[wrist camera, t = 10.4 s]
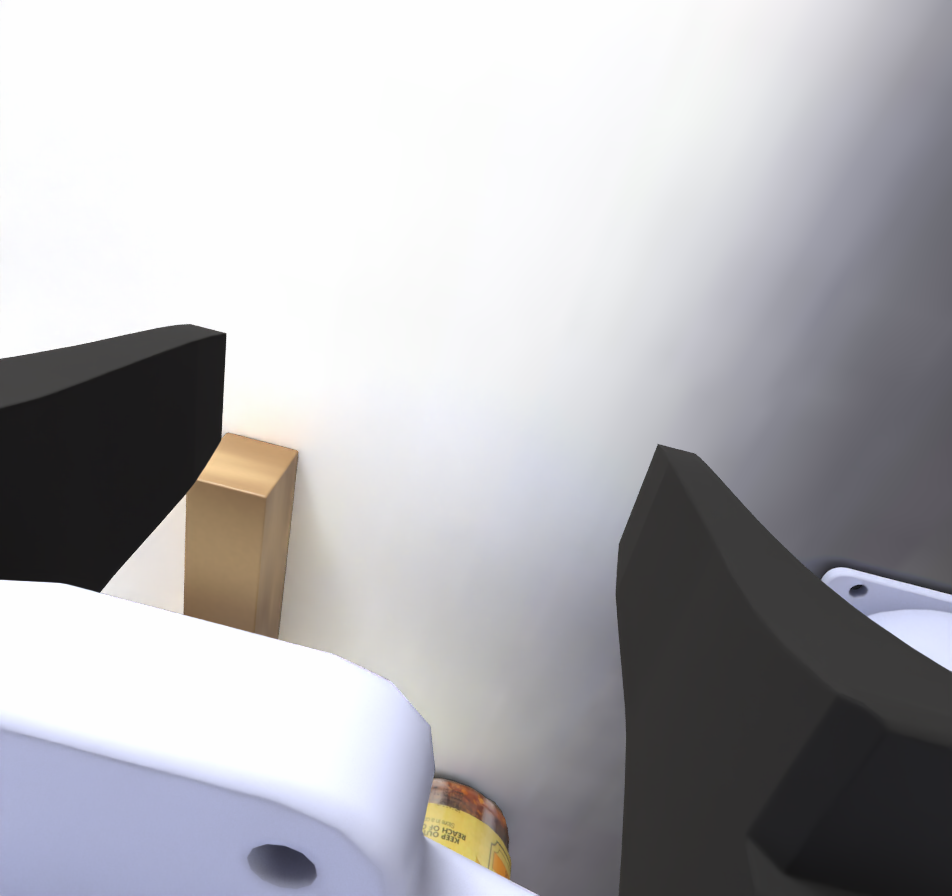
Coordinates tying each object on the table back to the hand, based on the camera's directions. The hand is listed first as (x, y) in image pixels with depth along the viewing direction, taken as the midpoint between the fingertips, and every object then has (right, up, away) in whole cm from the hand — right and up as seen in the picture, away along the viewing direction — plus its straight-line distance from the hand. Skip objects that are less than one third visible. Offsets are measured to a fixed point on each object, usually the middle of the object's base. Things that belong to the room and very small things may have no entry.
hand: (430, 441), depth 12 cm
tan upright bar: (-8, -8, +17) cm, 20 cm away
